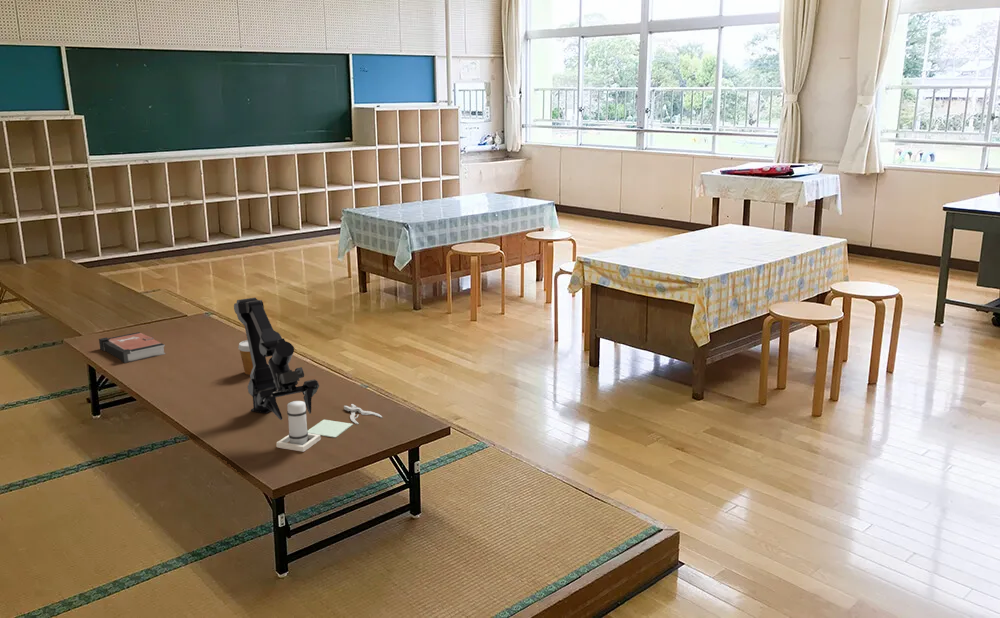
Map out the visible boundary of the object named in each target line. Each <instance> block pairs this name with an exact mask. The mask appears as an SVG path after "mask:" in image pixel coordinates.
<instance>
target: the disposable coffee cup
mask: <svg viewBox="0 0 1000 618" xmlns="http://www.w3.org/2000/svg"><path fill="white" fill-rule="evenodd" d="M237 348H238V351H239V353H240V357H241V362H242V365H243V369H244V370H243V371H244V374H245V375H248V376H250V374H251V371H252V369H253V363H252V359H251V354H250V349H249V345H248V340H247V339H246V340H242V341H241V342H239V343H238V347H237Z"/></svg>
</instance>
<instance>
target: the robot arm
mask: <svg viewBox="0 0 1000 618" xmlns="http://www.w3.org/2000/svg"><path fill="white" fill-rule="evenodd" d="M233 310H234V313H235V314H236V316H237V320H238V321H240V323H241V324H242V325H243V326H244V329H245V335H246V340H248V345H249V349H250V354H251V359H252V363H253V369H252V371H251V374H250V375H249V377H250V380H249V382H248V385H247V390H248V394H249V395H250V396H251V397H252V404H253V405H252V406H253V407H252V408H251V409H250V412H253V413H262V414H268V413H269V412H272V413H273V415H275V417H277V418H278V419H279V420H280V421H283V415H282V413H281V410H280V408H279V406H278V404H277V398H280V397H284V396H289V395H293V394H299V393H300V394H301V393H302V395H303V402H305V405H306V411H307V413H309V414H311V413H312V398H313V397H314V395H315V394H317V392H318V389H319V387H320V384H319V381H318V380H317V379H310V380H305V381H304V382H303V384H302V385H300V386H297V385H298V384H299V381H300V379H302V378H304V377H305V373H304V372H305V371H304V369H303V367H301V366H300V367H296V368H295V369H294V370H292V369H290V365H289V364H290V362H291V360H292V358H293V355H294V352H295V346H294V345H293V344H292V343H290V342H289V341H286V339H285V338H282V335H281V334H280V332H278V331H276V330H274V328H273V326H272V324H271V322H270V319H269V316H268V315H267V313H266V310H265V306H264V302H263V300H262V299H258V298H257V297H248V298H242V299H237V300H236V303H234V305H233ZM267 357H270V358H269V360H268V361H267Z"/></svg>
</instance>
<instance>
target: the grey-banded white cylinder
mask: <svg viewBox="0 0 1000 618" xmlns="http://www.w3.org/2000/svg"><path fill="white" fill-rule="evenodd" d="M286 408H287V410H286V411H287V412H286V413H287V418H288V419H287V422H288V435H289V438H290V441H289V443H291V444H297V445H304V444H305V443H307V442H308V441H309V439H308V432H307V431H308V424H307V407H306V404H305V401H304V400H293V401H291V402H288V403H287V405H286Z"/></svg>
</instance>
